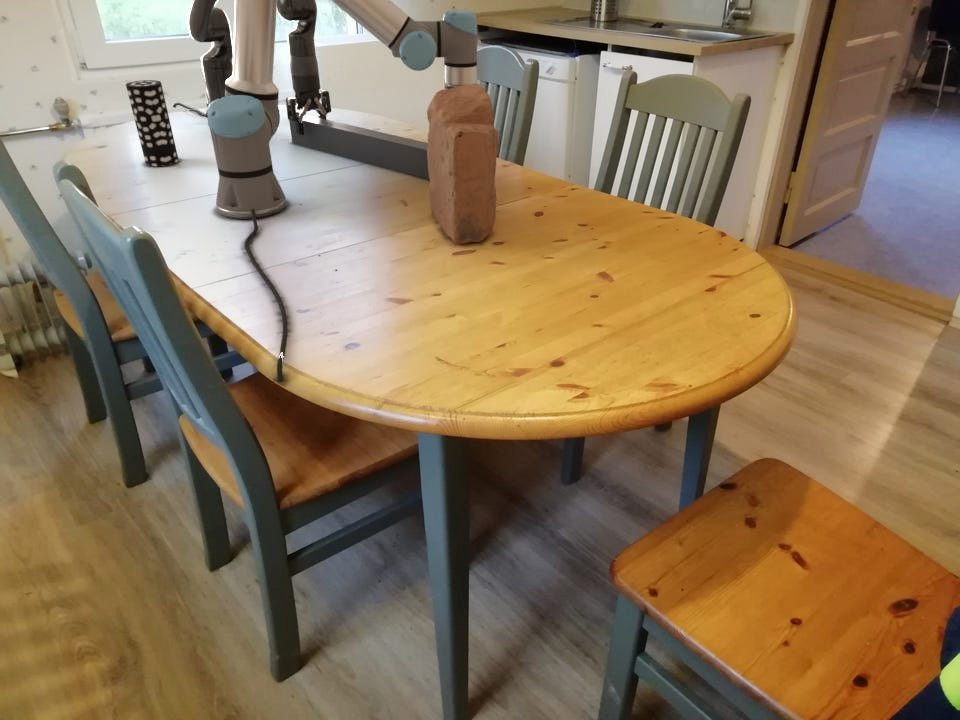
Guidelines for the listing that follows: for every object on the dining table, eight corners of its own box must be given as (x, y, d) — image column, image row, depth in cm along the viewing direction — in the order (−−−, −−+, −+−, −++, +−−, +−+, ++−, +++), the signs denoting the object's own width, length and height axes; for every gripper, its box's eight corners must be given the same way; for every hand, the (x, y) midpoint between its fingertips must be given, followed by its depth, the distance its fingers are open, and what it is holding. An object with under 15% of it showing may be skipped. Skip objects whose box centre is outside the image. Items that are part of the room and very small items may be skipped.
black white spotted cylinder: (184, 157, 190) (167, 80, 179) (169, 166, 183) (151, 87, 172) (155, 156, 190) (136, 79, 179) (139, 165, 183) (119, 86, 172)
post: (487, 186, 172) (488, 156, 168) (475, 192, 169) (476, 161, 165) (305, 139, 207) (302, 113, 203) (292, 143, 203) (288, 117, 199)
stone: (507, 241, 142) (509, 97, 128) (455, 247, 139) (451, 101, 125) (475, 209, 160) (474, 80, 146) (428, 214, 157) (422, 83, 143)
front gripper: (471, 76, 169) (471, 170, 182) (423, 88, 157) (426, 188, 169) (496, 80, 165) (494, 176, 178) (448, 93, 153) (450, 194, 166)
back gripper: (315, 67, 198) (322, 125, 206) (275, 74, 188) (284, 134, 197) (333, 70, 194) (339, 129, 203) (293, 77, 184) (301, 139, 193)
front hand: (461, 181), depth 174 cm, fingers closed on post, 5 cm apart
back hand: (312, 131), depth 200 cm, fingers open, 8 cm apart
